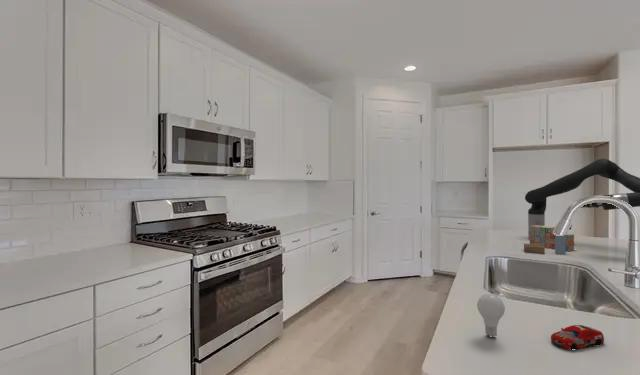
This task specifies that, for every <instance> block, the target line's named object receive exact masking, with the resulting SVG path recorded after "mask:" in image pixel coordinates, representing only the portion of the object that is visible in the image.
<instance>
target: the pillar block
mask: <svg viewBox="0 0 640 375" xmlns="http://www.w3.org/2000/svg"><path fill="white" fill-rule="evenodd" d="M554 253H555V254H556V255H563V256H565V255H566V254H567V251H566V235H564V236H556V235H555V249H554Z"/></svg>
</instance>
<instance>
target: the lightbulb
mask: <svg viewBox="0 0 640 375" xmlns="http://www.w3.org/2000/svg"><path fill="white" fill-rule="evenodd" d="M476 307H477V311H478V313H479V314H480V316H481V318H482V319H483V323H484V327H485V328H484V330H485V332H484V333H486V334H487V335H489V336H496V337H497V336H498V334H497V332H498V331H497V330H498V326H499V322H500V320H501V318H502V317H503V316H504V315H505V312H506V308H505V304H504V302H503V300H502V299H501V298H500V297H498V296H497V295H496V294H491V293H487V294H486V293H485V294H483V295H481V296H480V297H479V298H478V300H477V304H476ZM486 334H485V335H486ZM487 335H486V336H487ZM489 336H488V337H489Z"/></svg>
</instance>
